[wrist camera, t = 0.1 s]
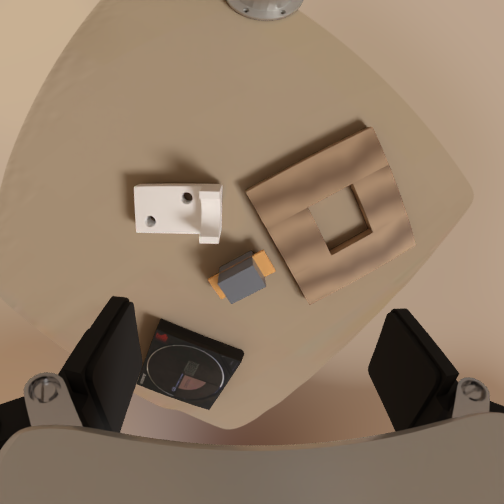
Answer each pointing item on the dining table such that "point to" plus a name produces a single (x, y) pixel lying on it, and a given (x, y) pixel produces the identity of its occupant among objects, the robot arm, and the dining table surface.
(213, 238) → the bracket
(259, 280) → the block
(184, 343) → the portable cd player
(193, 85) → the dining table surface
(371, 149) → the plate
